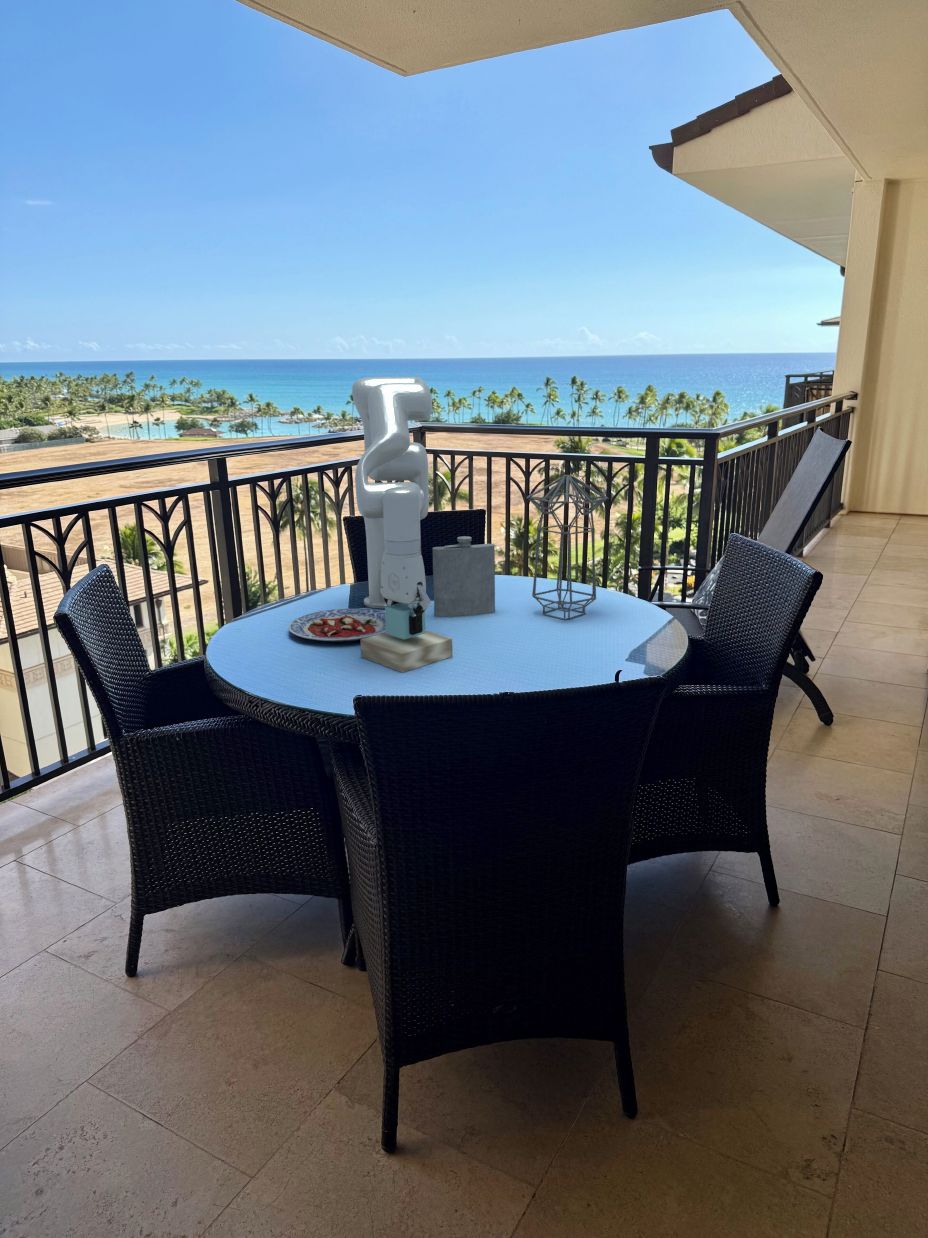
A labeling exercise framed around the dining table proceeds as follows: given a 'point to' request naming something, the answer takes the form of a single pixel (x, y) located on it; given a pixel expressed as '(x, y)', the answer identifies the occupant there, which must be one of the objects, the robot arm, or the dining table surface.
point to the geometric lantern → (577, 489)
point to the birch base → (406, 650)
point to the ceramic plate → (339, 625)
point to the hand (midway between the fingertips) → (405, 629)
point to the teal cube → (400, 621)
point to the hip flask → (464, 579)
